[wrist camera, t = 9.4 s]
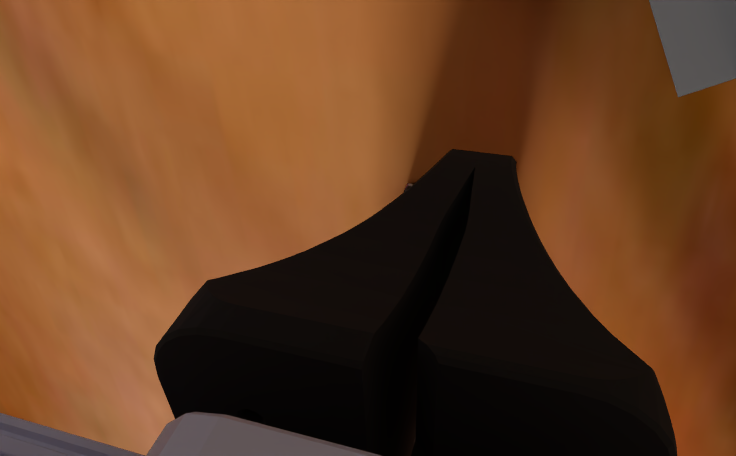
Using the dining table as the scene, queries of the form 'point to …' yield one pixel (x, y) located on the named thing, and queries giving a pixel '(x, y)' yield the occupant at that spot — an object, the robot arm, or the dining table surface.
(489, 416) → the robot arm
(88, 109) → the dining table surface
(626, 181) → the dining table surface
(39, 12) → the dining table surface
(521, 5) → the dining table surface
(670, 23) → the board
